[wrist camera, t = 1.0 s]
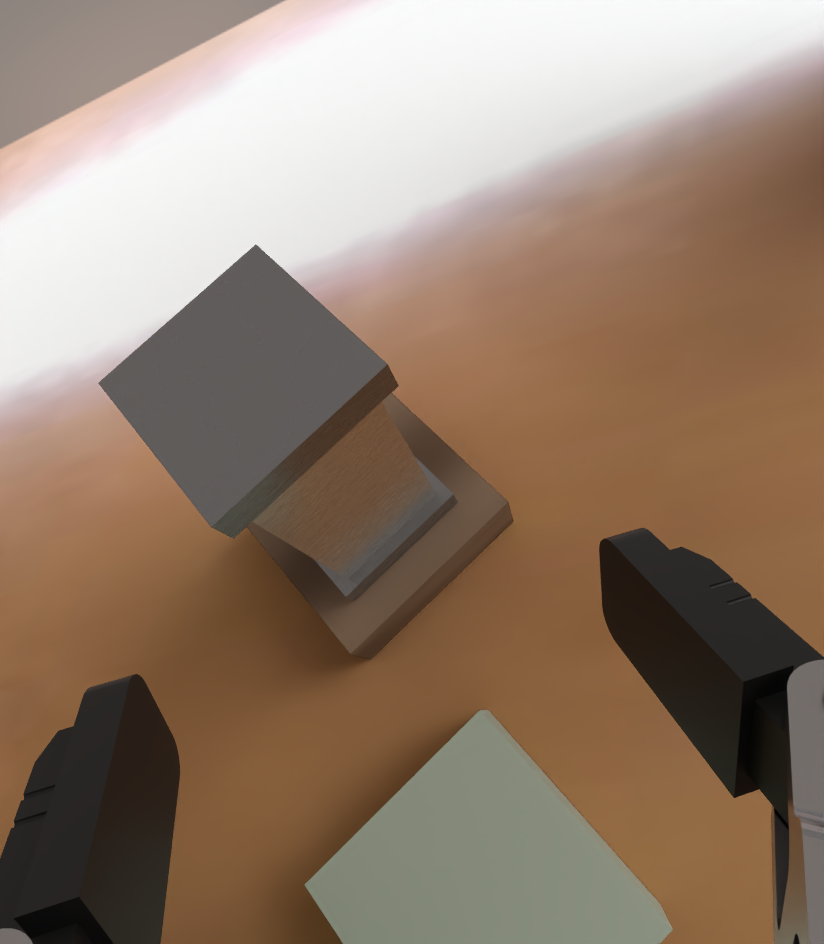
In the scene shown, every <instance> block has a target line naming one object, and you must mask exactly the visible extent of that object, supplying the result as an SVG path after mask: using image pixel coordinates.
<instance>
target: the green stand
mask: <svg viewBox="0 0 824 944" xmlns="http://www.w3.org/2000/svg"><path fill="white" fill-rule="evenodd" d="M305 887H306V888H307V890H308V891H309V893H310V894H311V896H312V897H313V899H314V900H315V902H316V903H317V905H318V906H319V908H320V909H321V911H322V912H323V914H324V916H325V917H326V919H327V920H328V922H329V923H330V925H331V926H332V928H333V929H334V931H335V932H336V934H337V935H338V937H339V938H340V940H341V941H342V943H343V944H660V943H661V942H662V941H663V939H664V938H665V937H666V936H667V935H668V934H669V933H670V932H671V931H672V930H673V929H672V927H671V925H670V923H669V921H668V919H667V917H666V915H665V913H664V911H663V909H662V907H661V905H660V903H659V902H658V901H657V900H656V899H655V898H654V897H653V895H652V894H651V893H650V892H649V891H648V890H647V889H646V888H645V886H644V885H643V884H642V883H641V882H640V881H639V880H638V879H637V877H636V876H635V875H634V874H633V873H632V872H631V871H630V870H629V868H628V867H627V866H626V865H625V864H624V863H623V862H622V860H621V859H620V858H619V857H618V856H617V855H616V854H615V853H614V851H613V850H612V849H611V848H610V847H609V846H608V845H607V844H606V842H605V841H604V840H603V839H602V838H601V837H600V836H599V835H598V833H597V832H596V831H595V830H594V829H593V828H592V827H591V825H590V824H589V823H588V822H587V821H586V820H585V819H584V818H583V816H582V815H581V814H580V813H579V812H578V811H577V810H576V809H575V807H574V806H573V805H572V804H571V803H570V802H569V801H568V800H567V798H566V797H565V796H564V795H563V794H562V793H561V792H560V790H559V789H558V788H557V787H556V786H555V785H554V784H553V783H552V781H551V780H550V779H549V778H548V777H547V776H546V775H545V774H544V772H543V771H542V770H541V769H540V768H539V767H538V766H537V764H536V763H535V762H534V761H533V760H532V759H531V758H530V757H529V755H528V754H527V753H526V752H525V751H524V750H523V749H522V748H521V746H520V745H519V744H518V743H517V742H516V741H515V740H514V739H513V737H512V736H511V735H510V734H509V733H508V732H507V731H506V729H505V728H504V727H503V726H502V725H501V724H500V723H499V722H498V720H497V719H496V718H495V717H494V716H493V715H492V714H491V713H490V711H489V710H479V711H478V712H477V713H476V714H475V715H474V716H473V717H472V718H471V719H470V720H469V721H468V722H467V723H466V724H465V725H464V726H463V727H462V728H461V729H460V730H459V731H458V732H457V733H456V734H455V735H454V736H453V737H452V738H451V739H450V740H449V741H448V742H447V743H446V744H445V745H444V746H443V747H442V748H441V749H440V750H439V751H438V752H437V753H436V754H435V755H434V756H433V757H432V758H431V759H430V760H429V761H428V762H427V763H426V764H425V765H424V766H423V767H422V768H421V769H420V770H419V771H418V772H417V773H416V774H415V775H414V776H413V777H412V778H411V779H410V780H409V781H408V782H407V783H406V784H405V785H404V786H403V787H402V788H401V789H400V790H399V791H398V792H397V793H396V794H395V795H394V796H393V797H392V798H391V799H390V800H389V801H388V802H387V803H386V804H385V805H384V806H383V807H382V808H381V809H380V810H379V811H378V812H377V813H376V814H375V815H374V816H373V817H372V818H371V819H370V820H369V821H368V822H367V823H366V824H365V825H364V826H363V827H362V828H361V829H360V830H359V831H358V832H357V833H356V834H355V835H354V836H353V837H352V838H351V839H350V840H349V841H348V842H347V843H346V844H345V845H344V846H343V847H342V848H341V849H340V850H339V851H338V852H337V853H336V854H335V855H334V856H333V857H332V858H331V859H330V860H329V861H328V862H327V863H326V864H325V865H324V866H323V867H322V868H321V869H320V870H319V871H318V872H317V873H316V874H315V875H314V876H313V877H312V878H311V879H310V880H309V881H308V882H307V883H306V884H305Z"/></svg>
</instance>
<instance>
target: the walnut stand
mask: <svg viewBox="0 0 824 944" xmlns="http://www.w3.org/2000/svg"><path fill="white" fill-rule="evenodd" d="M382 402H383V404H384V406H385V408H386V409H387V411H388V413H389V414H390V416H391V418H392V419H393V421H394V423H395V425H396V426H397V428H398V430H399V431H400V433H401V435H402V436H403V438H404V440H405V442H406V443H407V445H408V447H409V448H410V450H411V452H412V453H413V455H414V456H415V457H416V458H417V459H418V460H419V461H420V462H421V463H422V464H423V465H424V466H425V467H426V468H427V469H428V470H429V471H430V472H432V473H433V474H434V475H435V476H436V477H437V478H438V479H439V480H440V481H441V482H442V483H443V484H444V485H445V486H446V487H447V488H448V489H449V490H450V491H451V492H452V493H453V494H454V496H455V498H456V500H457V502H458V503H457V504H456V505H455V506H454V507H453V508H452V509H451V510H450V511H449V512H448V513H447V514H446V515H445V516H444V517H442V518H441V519H440V520H439V521H438V522H437V523H436V524H435V525H434V526H433V527H432V528H431V529H430V530H429V531H428V532H427V533H426V534H425V535H424V536H423V537H422V538H421V539H419V540H418V541H417V542H416V543H415V544H414V545H413V546H412V547H411V548H410V549H409V550H408V551H407V552H406V553H405V554H404V555H403V556H402V557H401V558H400V559H399V560H398V561H396V562H395V563H394V564H393V565H392V566H391V567H390V568H389V569H388V570H387V571H386V572H385V573H384V574H383V575H382V576H381V577H380V578H379V579H378V580H377V581H376V582H375V583H373V584H372V585H371V586H370V587H369V588H368V589H367V590H366V591H365V592H364V593H363V594H362V595H361V596H360V597H359V598H358V599H357V600H356V601H353V600H351V599H349V598H347V597H345V595H344V594H343V593H342V592H341V591H340V589H339V588H338V587H337V586H336V585H335V584H334V582H333V581H332V580H331V579H330V578H329V577H328V575H327V574H326V573H325V572H324V571H323V569H322V568H321V567H320V566H319V565H318V564H317V562H316V561H315V560H314V559H313V558H311V557H310V556H308V555H306V554H305V553H303V552H301V551H300V550H298V549H296V548H295V547H293V546H291V545H290V544H288V543H286V542H285V541H283V540H281V539H280V538H278V537H276V536H275V535H273V534H272V533H270V532H268V531H267V530H265V529H263V528H262V527H260V526H258V525H257V524H255V523H253V522H251V523H250V524H249V525H248V526H247V528H248V529H249V530H250V531H251V533H252V534H253V535H254V536H255V537H256V539H257V540H258V541H259V542H260V544H261V545H262V546H263V547H264V549H265V550H266V551H267V552H268V553H269V555H270V556H271V557H272V558H273V560H274V561H275V562H276V563H277V564H278V566H279V567H280V568H281V569H282V571H283V572H284V573H285V574H286V576H287V577H288V578H289V579H290V580H291V582H292V583H293V584H294V585H295V587H296V588H297V589H298V590H299V591H300V593H301V594H302V595H303V596H304V598H305V599H306V600H307V601H308V603H309V604H310V605H311V606H312V607H313V609H314V610H315V611H316V612H317V614H318V615H319V616H320V617H321V618H322V620H323V621H324V622H325V623H326V625H327V626H328V627H329V628H330V630H331V631H332V632H333V633H334V634H335V636H336V637H337V638H338V639H339V641H340V642H341V643H342V644H343V645H344V647H345V648H346V649H347V650H348V652H349V653H350V654H352V655H356V656H360V657H364V658H367V659H372V658H373V657H374V656H375V655H376V654H377V653H378V652H379V651H380V650H381V649H382V648H383V647H384V646H385V645H386V644H387V643H388V642H389V641H390V640H391V639H392V638H393V637H394V636H395V635H396V634H397V633H398V632H399V631H400V630H402V629H403V628H404V627H405V626H406V625H407V624H408V623H409V622H410V621H411V620H412V619H413V618H414V617H415V616H416V615H417V614H418V613H419V612H420V611H421V610H422V609H423V608H424V607H425V606H426V605H427V604H428V603H429V602H430V601H431V600H432V599H434V598H435V597H436V596H437V595H438V594H439V593H440V592H441V591H442V590H443V589H444V588H445V587H446V586H447V585H448V584H449V583H450V582H451V581H452V580H453V579H454V578H455V577H456V576H457V575H458V574H459V573H460V572H461V571H462V570H463V569H464V568H466V567H467V566H468V565H469V564H470V563H471V562H472V561H473V560H474V559H475V558H476V557H477V556H478V555H479V554H480V553H481V552H482V551H483V550H484V549H485V548H486V547H487V546H488V545H489V544H490V543H491V542H492V541H493V540H494V539H495V538H496V537H497V536H499V535H500V534H501V533H502V532H503V531H504V530H505V529H506V528H507V527H508V526H509V525H510V524H511V523H512V522H513V518H512V514H511V510H510V506H509V502H508V501H507V500H506V499H505V498H504V497H503V496H502V495H500V494H499V493H498V492H497V491H496V490H495V489H494V488H493V487H492V486H491V485H490V484H489V483H488V482H487V481H485V480H484V479H483V478H482V477H481V476H480V475H479V474H478V473H477V472H476V471H475V470H474V469H473V468H472V467H470V466H469V465H468V464H467V463H466V462H465V461H464V460H463V459H462V458H461V457H460V456H459V455H458V454H457V453H455V452H454V451H453V450H452V449H451V448H450V447H449V446H448V445H447V444H446V443H445V442H444V441H443V440H442V439H440V438H439V437H438V436H437V435H436V434H435V433H434V432H433V431H432V430H431V429H430V428H429V427H428V426H427V425H425V424H424V423H423V422H422V421H421V420H420V419H419V418H418V417H417V416H416V415H415V414H414V413H413V412H411V411H410V410H409V409H408V408H407V407H406V406H405V405H404V404H403V403H402V402H401V401H400V400H399V399H398V398H396V397H395V396H394V395H393V394H392V393H390V394H389V395H388V396H387V397H386V398H385V399H384V400H383V401H382Z"/></svg>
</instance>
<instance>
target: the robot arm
mask: <svg viewBox="0 0 824 944" xmlns="http://www.w3.org/2000/svg"><path fill="white" fill-rule="evenodd" d="M599 553H600V572H601V590H602V607H603V613H604V617H605V620H606V623H607V626H608V629H609V631H610V633H611V635H612V637H613V638H614V640H615V642H616V643H617V644H618V646H619V647H620V648H621V650H622V651H623V652H624V654H625V655H626V656H627V658H628V659H629V660H630V661H631V663H632V664H633V665H634V667H635V668H636V669H637V671H638V672H639V673H640V675H641V676H642V677H643V679H644V680H645V681H646V683H647V684H648V685H649V687H650V688H651V689H652V690H653V692H654V693H655V694H656V696H657V697H658V698H659V700H660V701H661V702H662V704H663V705H664V706H665V708H666V709H667V710H668V712H669V713H670V714H671V716H672V717H673V718H674V719H675V721H676V722H677V723H678V725H679V726H680V727H681V729H682V730H683V731H684V733H685V734H686V735H687V737H688V738H689V739H690V741H691V742H692V743H693V745H694V746H695V747H696V748H697V750H698V751H699V752H700V754H701V755H702V756H703V758H704V759H705V760H706V762H707V763H708V764H709V766H710V767H711V768H712V770H713V771H714V772H715V774H716V775H717V776H718V777H719V779H720V780H721V781H722V783H723V784H724V785H725V787H726V788H727V789H728V791H729V792H730V793H731V795H732V796H733V797H734V798H736V797H738V796H741V795H744V794H747V793H750V792H753V791H756V790H758V789H760V790H761V792H762V793H763V794H764V795H765V797H766V798H767V799H768V800H769V801H770V803H771V804H772V812H771V840H772V883H773V926H774V944H824V657H823V656H822V655H820V654H819V653H818V652H817V651H816V650H815V649H813V648H812V647H811V646H810V645H809V644H808V643H807V642H805V641H804V640H803V639H802V638H801V637H800V636H798V635H797V634H796V633H795V632H794V631H793V630H792V629H790V628H789V627H788V626H787V625H786V624H785V623H783V622H782V621H781V620H780V619H779V618H778V617H777V616H775V615H774V614H773V613H772V612H771V611H770V610H768V609H767V608H766V607H765V606H764V605H763V604H762V603H760V602H759V601H758V600H757V599H756V598H754V599H753V598H752V597H751V594H750V593H749V592H748V591H747V590H745V589H744V588H743V587H742V586H741V585H740V584H738V583H737V582H736V583H734V581H733V578H732V577H730V576H729V575H728V574H727V573H726V572H725V571H723V570H722V569H721V568H720V567H719V566H718V565H717V564H715V563H714V562H713V561H712V560H711V559H708V558H706V557H704V556H701V555H699V554H697V553H695V552H692V551H690V550H688V549H685V548H683V547H679V548H676V549H672V550H669V549H668V548H667V547H666V546H665V545H664V544H663V543H662V542H661V541H660V540H659V539H658V538H656V537H655V536H654V535H653V534H652V533H651V532H650V531H649V530H647V529H645V528H639V529H636V530H633V531H629V532H626V533H622V534H619V535H615V536H612V537H609V538H605V539H603V540H602V541H601V542H600V547H599ZM179 779H180V763H179V755H178V750H177V746H176V743H175V740H174V738H173V735H172V733H171V731H170V729H169V727H168V726H167V724H166V722H165V720H164V718H163V716H162V714H161V712H160V710H159V708H158V706H157V704H156V702H155V700H154V698H153V696H152V694H151V693H150V691H149V689H148V687H147V685H146V683H145V681H144V680H143V678H142V677H141V676H140V675H138V674H135V675H131V676H128V677H124V678H121V679H117V680H114V681H111V682H107V683H104V684H100V685H97V686H94V687H90V688H88V689H87V690H86V692H85V693H84V696H83V699H82V702H81V705H80V708H79V711H78V714H77V718H76V721H75V724H74V726H73V727H70V728H66V729H63V730H60V731H58V732H57V734H56V735H55V736H54V738H53V739H52V740H51V742H50V743H49V744H48V746H47V747H46V748H45V750H44V751H43V752H42V754H41V755H40V756H39V758H38V759H37V760H36V762H35V764H34V766H33V769H32V772H31V775H30V777H29V780H28V783H27V786H26V789H25V791H24V794H23V795H24V800H22V801H21V803H20V805H19V808H18V811H17V814H16V816H15V819H14V824H15V826H14V828H11V830H10V833H9V836H8V839H7V841H6V844H5V847H4V850H3V853H2V855H1V858H0V944H160V942H161V934H162V925H163V917H164V908H165V899H166V891H167V882H168V874H169V865H170V856H171V848H172V839H173V830H174V822H175V813H176V805H177V796H178V787H179Z"/></svg>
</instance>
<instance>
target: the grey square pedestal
mask: <svg viewBox="0 0 824 944" xmlns="http://www.w3.org/2000/svg"><path fill="white" fill-rule="evenodd" d="M99 384H100V386H101V387H102V388H103V390H104V391H105V392H106V393H107V395H108V396H109V397H110V399H111V400H112V401H113V402H114V404H115V405H116V406H117V407H118V409H119V410H120V411H121V413H122V414H123V415H124V416H125V418H126V419H127V420H128V422H129V423H130V424H131V425H132V427H133V428H134V429H135V430H136V432H137V433H138V434H139V436H140V437H141V438H142V439H143V441H144V442H145V443H146V444H147V446H148V447H149V448H150V450H151V451H152V452H153V453H154V455H155V456H156V457H157V459H158V460H159V461H160V462H161V464H162V465H163V466H164V467H165V469H166V470H167V471H168V473H169V474H170V475H171V476H172V478H173V479H174V480H175V482H176V483H177V484H178V485H179V487H180V488H181V489H182V490H183V492H184V493H185V494H186V496H187V497H188V498H189V499H190V501H191V502H192V503H193V505H194V506H195V507H196V508H197V510H198V511H199V512H200V513H201V515H202V516H203V517H204V519H205V520H206V521H207V522H208V524H209V525H210V526H211V527H212V528H214V529H216V530H218V531H220V532H222V533H224V534H226V535H228V536H230V537H231V538H233V539H234V538H235V537H236V536H237V535H238V534H239V533H240V532H241V531H242V530H244V529H245V528H246V527H247V526H248V525H249V524H250V523H251V522H253V523H255V524H257V525H258V526H260V527H262V528H263V529H265V530H267V531H268V532H270V533H272V534H273V535H275V536H276V537H278V538H280V539H281V540H283V541H285V542H286V543H288V544H290V545H291V546H293V547H295V548H296V549H298V550H300V551H301V552H303V553H305V554H306V555H308V556H310V557H311V558H313V559H314V560H315V561H316V562H317V564H318V565H319V566H320V567H321V568H322V569H323V571H324V572H325V573H326V574H327V575H328V577H329V578H330V579H331V580H332V581H333V582H334V584H335V585H336V586H337V587H338V588H339V589H340V591H341V592H342V593H343V594H344V595H345V597H347V598H349V599H351V600H353V601H356V600H357V599H358V598H359V597H360V596H361V595H362V594H363V593H364V592H365V591H366V590H367V589H368V588H369V587H370V586H371V585H372V584H373V583H375V582H376V581H377V580H378V579H379V578H380V577H381V576H382V575H383V574H384V573H385V572H386V571H387V570H388V569H389V568H390V567H391V566H392V565H393V564H394V563H395V562H396V561H398V560H399V559H400V558H401V557H402V556H403V555H404V554H405V553H406V552H407V551H408V550H409V549H410V548H411V547H412V546H413V545H414V544H415V543H416V542H417V541H418V540H419V539H421V538H422V537H423V536H424V535H425V534H426V533H427V532H428V531H429V530H430V529H431V528H432V527H433V526H434V525H435V524H436V523H437V522H438V521H439V520H440V519H441V518H442V517H444V516H445V515H446V514H447V513H448V512H449V511H450V510H451V509H452V508H453V507H454V506H455V505H456V504H457V503H458V502H457V500H456V498H455V496H454V494H453V493H452V492H451V491H450V490H449V489H448V488H447V487H446V486H445V485H444V484H443V483H442V482H441V481H440V480H439V479H438V478H437V477H436V476H435V475H434V474H433V473H432V472H430V471H429V470H428V469H427V468H426V467H425V466H424V465H423V464H422V463H421V462H420V461H419V460H418V459H417V458H416V457H415V456H414V455H413V453H412V452H411V450H410V448H409V447H408V445H407V443H406V442H405V440H404V438H403V436H402V435H401V433H400V431H399V430H398V428H397V426H396V425H395V423H394V421H393V419H392V418H391V416H390V414H389V413H388V411H387V409H386V408H385V406H384V404H383V402H382V401H383V400H384V399H385V398H386V397H387V396H388V395H389V394H390V393H392V392H393V391H394V390H395V389H396V388H397V387H398V384H397V382H396V380H395V378H394V376H393V374H392V372H391V370H390V368H389V366H388V364H387V363H386V362H385V361H383V360H382V359H381V358H380V357H379V356H378V355H377V354H376V353H375V352H374V351H372V350H371V349H370V348H369V347H368V346H367V345H366V344H365V343H364V342H363V341H361V340H360V339H359V338H358V337H357V336H356V335H355V334H354V333H353V332H352V331H350V330H349V329H348V328H347V327H346V326H345V325H344V324H343V323H342V322H341V321H339V320H338V319H337V318H336V317H335V316H334V315H333V314H332V313H331V312H330V311H328V310H327V309H326V308H325V307H324V306H323V305H322V304H321V303H320V302H319V301H317V300H316V299H315V298H314V297H313V296H312V295H311V294H310V293H309V292H308V291H306V290H305V289H304V288H303V287H302V286H301V285H300V284H299V283H298V282H297V281H296V280H294V279H293V278H292V277H291V276H290V275H289V274H288V273H287V272H286V271H285V270H283V269H282V268H281V267H280V266H279V265H278V264H277V263H276V262H275V261H274V260H272V259H271V258H270V257H269V256H268V255H267V254H266V253H265V252H264V251H263V250H261V249H260V248H259V247H258V246H257V245H255V246H254V247H252V248H251V249H250V250H249V251H248V252H247V253H246V254H244V255H243V256H242V257H241V258H240V259H239V260H238V261H237V262H235V263H234V264H233V265H232V266H231V267H230V268H229V269H227V270H226V271H225V272H224V273H223V274H222V275H221V276H219V277H218V278H217V279H216V280H215V281H214V282H213V283H212V284H210V285H209V286H208V287H207V288H206V289H205V290H204V291H202V292H201V293H200V294H199V295H198V296H197V297H196V298H194V299H193V300H192V301H191V302H190V303H189V304H188V305H186V306H185V307H184V308H183V309H182V310H181V311H180V312H179V313H177V314H176V315H175V316H174V317H173V318H172V319H171V320H169V321H168V322H167V323H166V324H165V325H164V326H163V327H161V328H160V329H159V330H158V331H157V332H156V333H155V334H154V335H152V336H151V337H150V338H149V339H148V340H147V341H146V342H144V343H143V344H142V345H141V346H140V347H139V348H138V349H136V350H135V351H134V352H133V353H132V354H131V355H130V356H129V357H127V358H126V359H125V360H124V361H123V362H122V363H121V364H119V365H118V366H117V367H116V368H115V369H114V370H113V371H111V372H110V373H109V374H108V375H107V376H106V377H105V378H103V379H102V380H101V381H100V382H99Z"/></svg>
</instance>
